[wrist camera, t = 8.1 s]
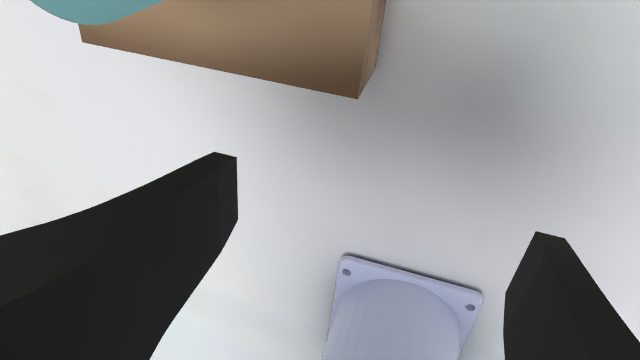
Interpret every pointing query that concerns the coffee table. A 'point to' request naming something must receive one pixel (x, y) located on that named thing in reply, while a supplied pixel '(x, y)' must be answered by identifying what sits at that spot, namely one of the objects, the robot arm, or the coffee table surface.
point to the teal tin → (93, 9)
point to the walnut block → (258, 39)
